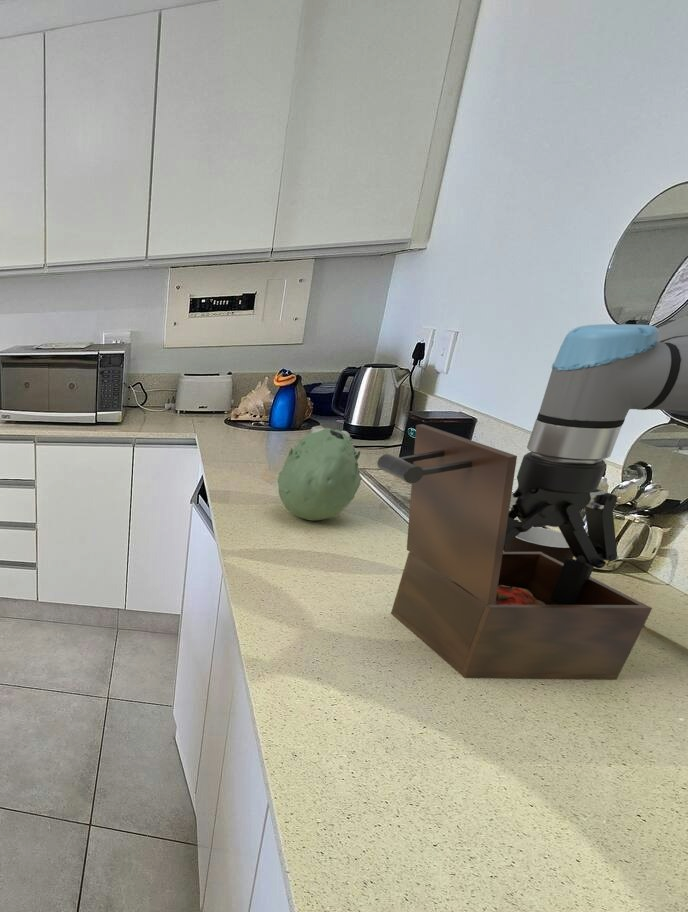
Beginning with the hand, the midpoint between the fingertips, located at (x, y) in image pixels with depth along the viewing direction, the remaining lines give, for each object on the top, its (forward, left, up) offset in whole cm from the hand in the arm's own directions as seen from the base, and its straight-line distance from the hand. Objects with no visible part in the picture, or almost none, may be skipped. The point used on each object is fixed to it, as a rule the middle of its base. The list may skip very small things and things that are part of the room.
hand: (511, 605), depth 81 cm
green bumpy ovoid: (+3, -50, -7) cm, 51 cm away
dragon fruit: (0, 0, -6) cm, 6 cm away
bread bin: (0, 0, -6) cm, 6 cm away
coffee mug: (-15, -17, -7) cm, 23 cm away
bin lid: (+11, 0, +15) cm, 18 cm away
